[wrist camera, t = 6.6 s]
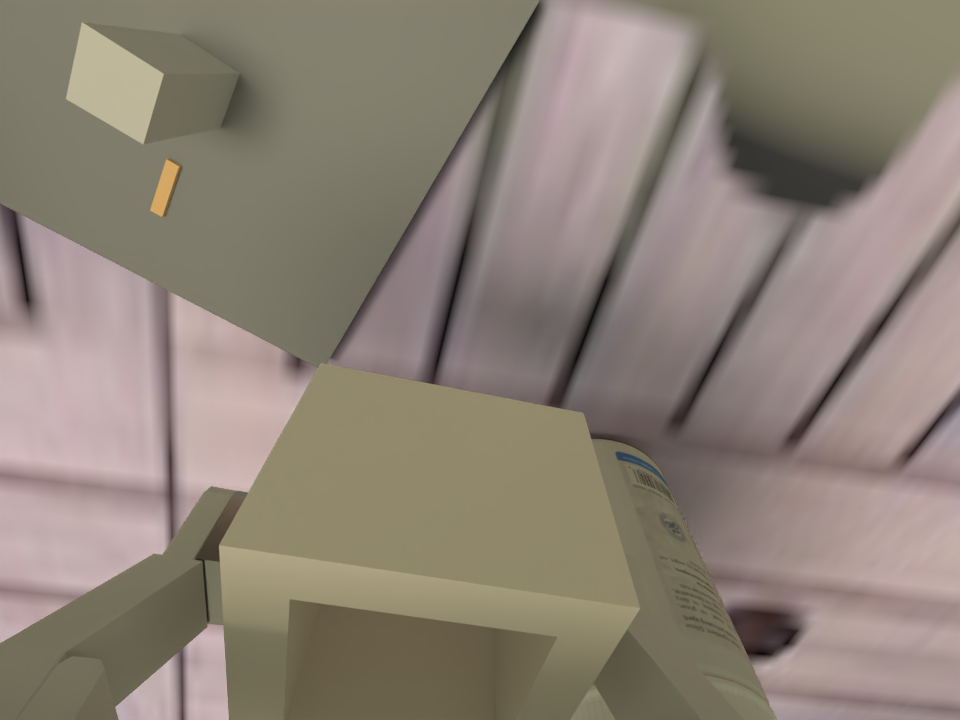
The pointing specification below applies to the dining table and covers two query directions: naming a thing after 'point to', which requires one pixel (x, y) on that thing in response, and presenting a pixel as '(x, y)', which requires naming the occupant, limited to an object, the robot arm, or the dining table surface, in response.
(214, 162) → the grey square panel
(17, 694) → the robot arm
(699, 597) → the supplement tub
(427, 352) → the dining table surface
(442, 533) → the cream open box
